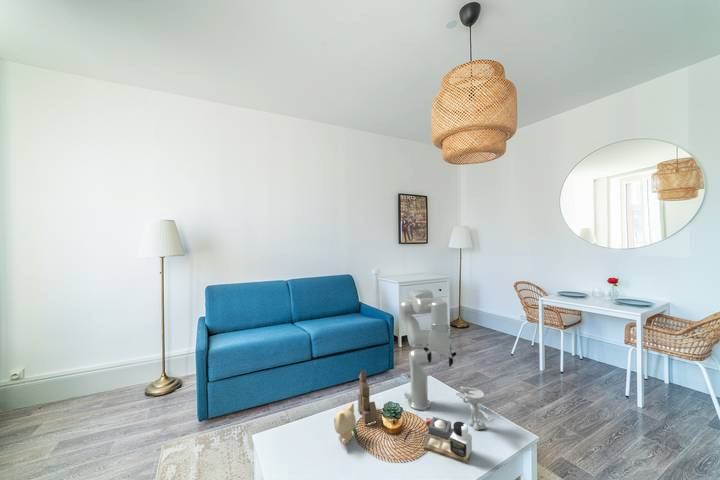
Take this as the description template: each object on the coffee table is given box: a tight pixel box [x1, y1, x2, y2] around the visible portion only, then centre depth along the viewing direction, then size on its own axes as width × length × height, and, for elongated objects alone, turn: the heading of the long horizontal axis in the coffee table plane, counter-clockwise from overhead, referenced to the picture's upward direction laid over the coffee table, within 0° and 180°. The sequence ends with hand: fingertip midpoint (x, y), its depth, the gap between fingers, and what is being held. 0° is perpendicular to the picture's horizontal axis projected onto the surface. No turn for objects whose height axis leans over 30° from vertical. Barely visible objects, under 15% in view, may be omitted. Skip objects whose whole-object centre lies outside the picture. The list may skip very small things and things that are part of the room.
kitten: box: [333, 403, 357, 445], centre depth 134 cm, size 15×10×15 cm, turn 145°
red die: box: [425, 417, 432, 428], centre depth 143 cm, size 3×3×3 cm
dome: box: [434, 420, 446, 430], centre depth 138 cm, size 5×5×5 cm
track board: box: [425, 434, 471, 465], centre depth 126 cm, size 18×9×1 cm, turn 61°
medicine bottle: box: [449, 421, 473, 460], centre depth 123 cm, size 7×7×12 cm
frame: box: [421, 432, 430, 449], centre depth 133 cm, size 11×11×1 cm
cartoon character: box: [455, 386, 496, 431], centre depth 141 cm, size 25×12×20 cm, turn 19°
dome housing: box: [428, 416, 452, 441], centre depth 138 cm, size 9×9×4 cm
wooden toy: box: [357, 370, 377, 424], centre depth 151 cm, size 16×7×25 cm, turn 15°
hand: (440, 363), depth 132 cm, fingers open, 9 cm apart
